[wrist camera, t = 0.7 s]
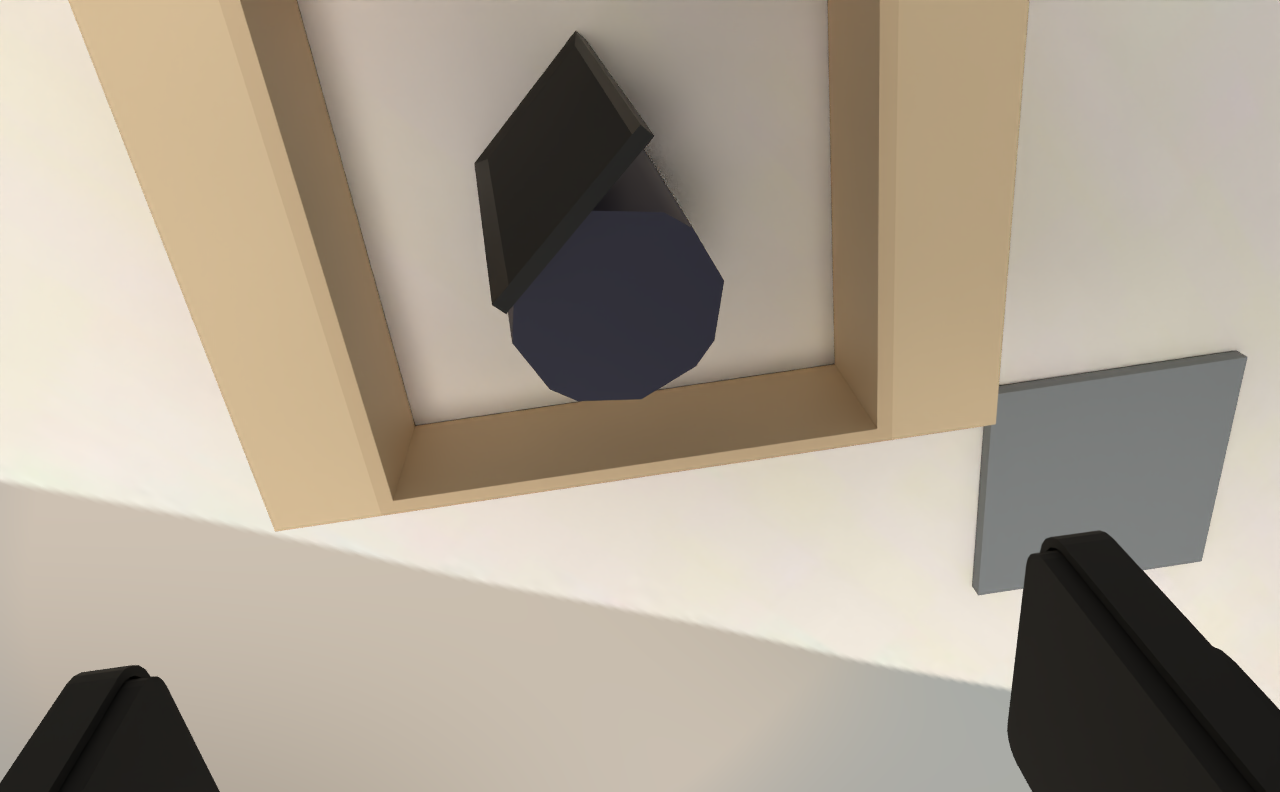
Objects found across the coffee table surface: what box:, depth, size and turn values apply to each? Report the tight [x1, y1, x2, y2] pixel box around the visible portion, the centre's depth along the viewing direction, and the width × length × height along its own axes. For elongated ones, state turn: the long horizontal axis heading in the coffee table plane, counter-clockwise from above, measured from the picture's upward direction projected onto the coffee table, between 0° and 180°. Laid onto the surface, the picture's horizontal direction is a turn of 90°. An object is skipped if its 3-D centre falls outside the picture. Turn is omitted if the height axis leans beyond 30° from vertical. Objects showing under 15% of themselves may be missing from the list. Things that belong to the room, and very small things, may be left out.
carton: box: [68, 0, 1029, 532], centre depth 27 cm, size 24×17×5 cm
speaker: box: [475, 31, 724, 401], centre depth 25 cm, size 8×6×10 cm
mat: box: [973, 351, 1247, 595], centre depth 36 cm, size 10×10×1 cm
